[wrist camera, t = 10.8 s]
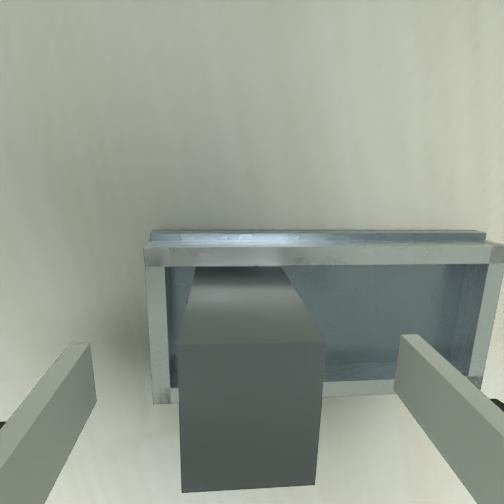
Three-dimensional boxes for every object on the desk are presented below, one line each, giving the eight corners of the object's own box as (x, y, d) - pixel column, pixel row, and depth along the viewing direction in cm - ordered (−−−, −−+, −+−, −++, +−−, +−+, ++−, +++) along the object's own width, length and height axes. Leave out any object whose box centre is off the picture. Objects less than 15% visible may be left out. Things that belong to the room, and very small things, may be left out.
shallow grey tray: (153, 230, 20) (143, 240, 18) (474, 230, 22) (510, 239, 19) (161, 381, 23) (153, 410, 20) (450, 370, 25) (479, 395, 22)
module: (195, 267, 20) (177, 344, 11) (281, 266, 20) (326, 341, 12) (197, 361, 22) (181, 495, 13) (277, 359, 22) (314, 487, 13)
